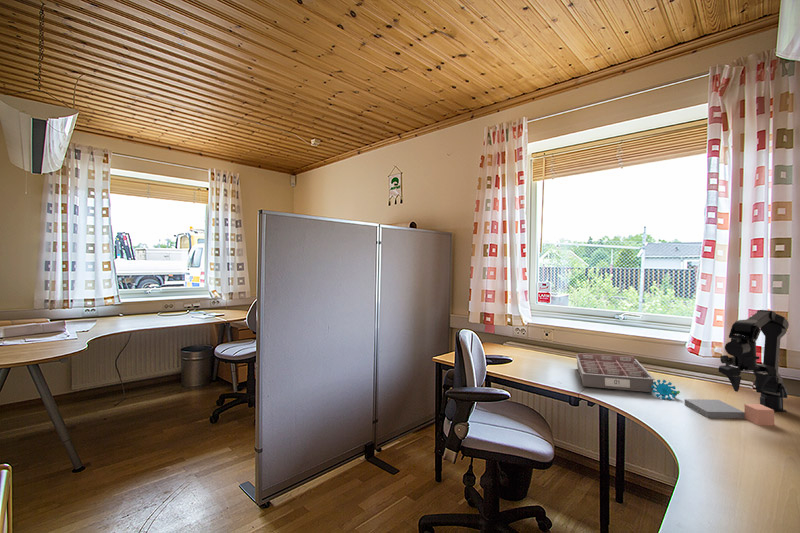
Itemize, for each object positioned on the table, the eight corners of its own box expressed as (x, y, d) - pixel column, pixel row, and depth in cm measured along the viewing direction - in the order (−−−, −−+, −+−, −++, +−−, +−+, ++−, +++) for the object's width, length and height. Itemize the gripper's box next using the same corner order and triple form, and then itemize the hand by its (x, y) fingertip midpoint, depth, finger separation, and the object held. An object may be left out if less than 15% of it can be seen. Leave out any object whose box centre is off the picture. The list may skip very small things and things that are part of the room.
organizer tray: (582, 389, 188) (581, 369, 188) (575, 368, 225) (575, 352, 225) (655, 396, 176) (655, 375, 176) (636, 372, 213) (636, 355, 213)
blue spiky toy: (650, 394, 173) (652, 376, 179) (649, 400, 177) (650, 382, 182) (679, 402, 167) (680, 382, 173) (677, 407, 171) (678, 388, 176)
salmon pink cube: (761, 419, 148) (760, 404, 148) (774, 425, 142) (774, 410, 142) (744, 418, 149) (744, 404, 149) (757, 425, 143) (757, 409, 143)
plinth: (718, 405, 163) (718, 399, 163) (744, 418, 149) (744, 412, 149) (684, 404, 164) (684, 399, 164) (707, 417, 150) (707, 411, 150)
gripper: (750, 347, 156) (751, 383, 156) (706, 348, 156) (707, 385, 156) (777, 353, 145) (778, 392, 145) (730, 355, 145) (731, 394, 145)
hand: (747, 391), depth 148 cm, fingers open, 9 cm apart
